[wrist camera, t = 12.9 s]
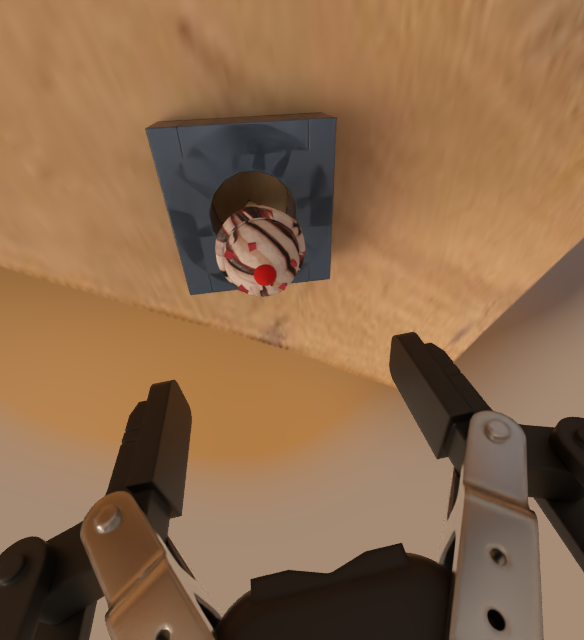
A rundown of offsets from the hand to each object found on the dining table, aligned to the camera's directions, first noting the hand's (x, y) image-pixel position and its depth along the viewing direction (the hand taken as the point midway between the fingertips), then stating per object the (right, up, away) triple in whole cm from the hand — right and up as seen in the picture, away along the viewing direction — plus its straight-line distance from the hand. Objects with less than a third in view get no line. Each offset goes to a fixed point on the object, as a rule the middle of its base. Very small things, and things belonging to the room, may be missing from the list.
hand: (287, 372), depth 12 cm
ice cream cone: (-4, +13, +17) cm, 22 cm away
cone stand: (-4, +13, +17) cm, 22 cm away
